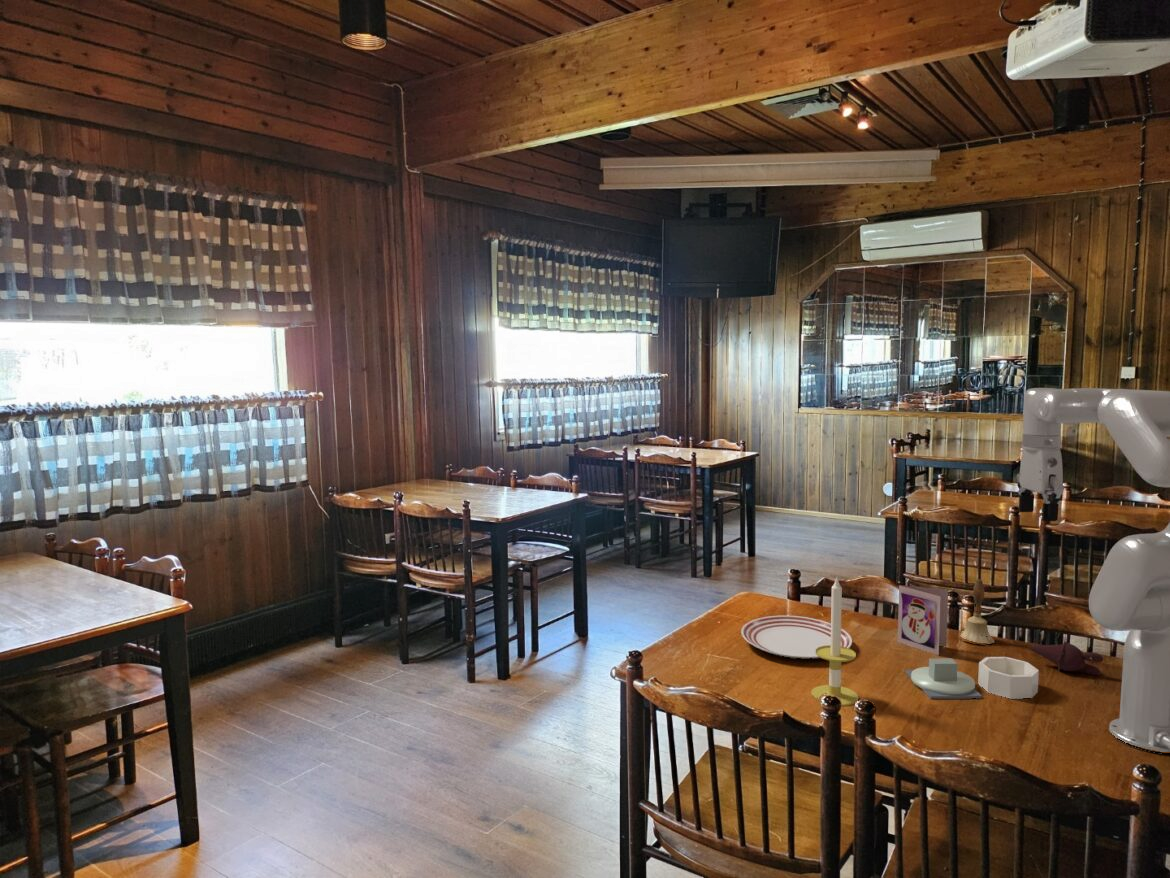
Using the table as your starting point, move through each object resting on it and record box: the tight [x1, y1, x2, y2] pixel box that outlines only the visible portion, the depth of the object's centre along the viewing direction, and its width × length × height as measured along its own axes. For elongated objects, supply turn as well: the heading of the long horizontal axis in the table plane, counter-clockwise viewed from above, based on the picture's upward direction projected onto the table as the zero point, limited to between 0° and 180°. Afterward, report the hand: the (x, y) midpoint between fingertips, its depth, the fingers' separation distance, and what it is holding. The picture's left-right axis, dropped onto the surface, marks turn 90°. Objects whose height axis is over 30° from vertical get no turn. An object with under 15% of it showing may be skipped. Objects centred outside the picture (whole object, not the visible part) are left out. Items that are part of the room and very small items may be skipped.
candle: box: [810, 577, 860, 707], centre depth 170 cm, size 10×10×27 cm
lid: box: [910, 657, 976, 695], centre depth 176 cm, size 13×13×5 cm
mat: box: [904, 669, 983, 700], centre depth 176 cm, size 14×11×1 cm
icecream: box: [1027, 640, 1104, 676], centre depth 183 cm, size 7×7×15 cm
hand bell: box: [959, 578, 995, 644], centre depth 202 cm, size 8×8×16 cm
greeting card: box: [897, 585, 949, 656], centre depth 198 cm, size 11×7×15 cm, turn 33°
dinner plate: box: [740, 614, 853, 660], centre depth 201 cm, size 28×27×3 cm
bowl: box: [977, 656, 1040, 700], centre depth 173 cm, size 11×11×5 cm
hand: (1037, 516), depth 180 cm, fingers open, 9 cm apart
